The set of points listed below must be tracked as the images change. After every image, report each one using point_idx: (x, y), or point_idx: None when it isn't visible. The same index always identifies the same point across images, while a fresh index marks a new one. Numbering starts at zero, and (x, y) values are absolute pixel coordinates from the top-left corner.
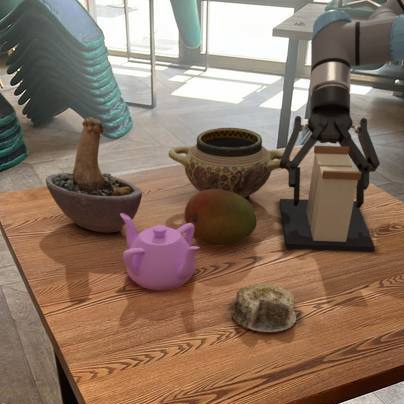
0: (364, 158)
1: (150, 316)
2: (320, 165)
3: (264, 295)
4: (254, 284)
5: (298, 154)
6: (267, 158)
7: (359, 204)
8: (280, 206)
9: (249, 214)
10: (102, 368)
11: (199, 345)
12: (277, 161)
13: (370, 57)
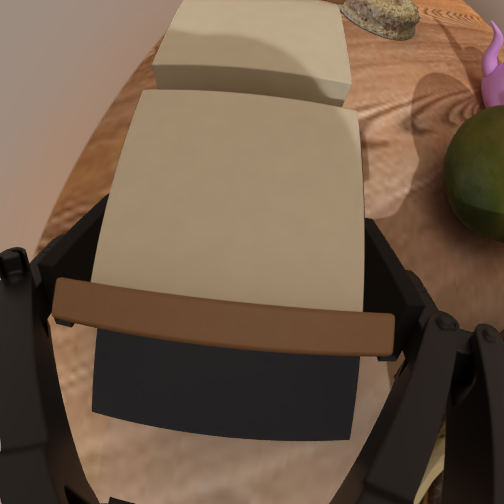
0: (2, 306)
1: (482, 55)
2: (343, 112)
3: None
4: (404, 16)
5: (444, 366)
6: None
7: None
8: (354, 393)
9: (477, 124)
10: (478, 21)
11: (426, 10)
12: None
13: None
